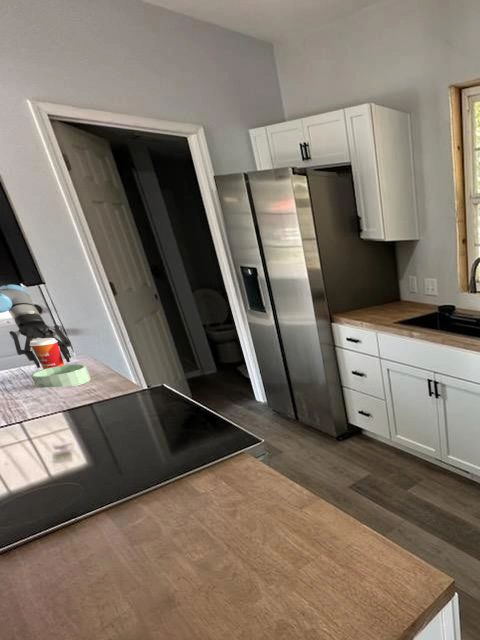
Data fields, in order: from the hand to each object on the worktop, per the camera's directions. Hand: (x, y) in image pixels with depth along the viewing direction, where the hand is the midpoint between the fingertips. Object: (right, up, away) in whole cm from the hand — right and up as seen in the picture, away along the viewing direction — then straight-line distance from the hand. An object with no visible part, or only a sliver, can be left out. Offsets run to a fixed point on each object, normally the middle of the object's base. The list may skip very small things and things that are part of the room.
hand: (53, 363), depth 164 cm
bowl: (+13, -8, -8) cm, 17 cm away
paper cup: (-3, -4, +4) cm, 6 cm away
